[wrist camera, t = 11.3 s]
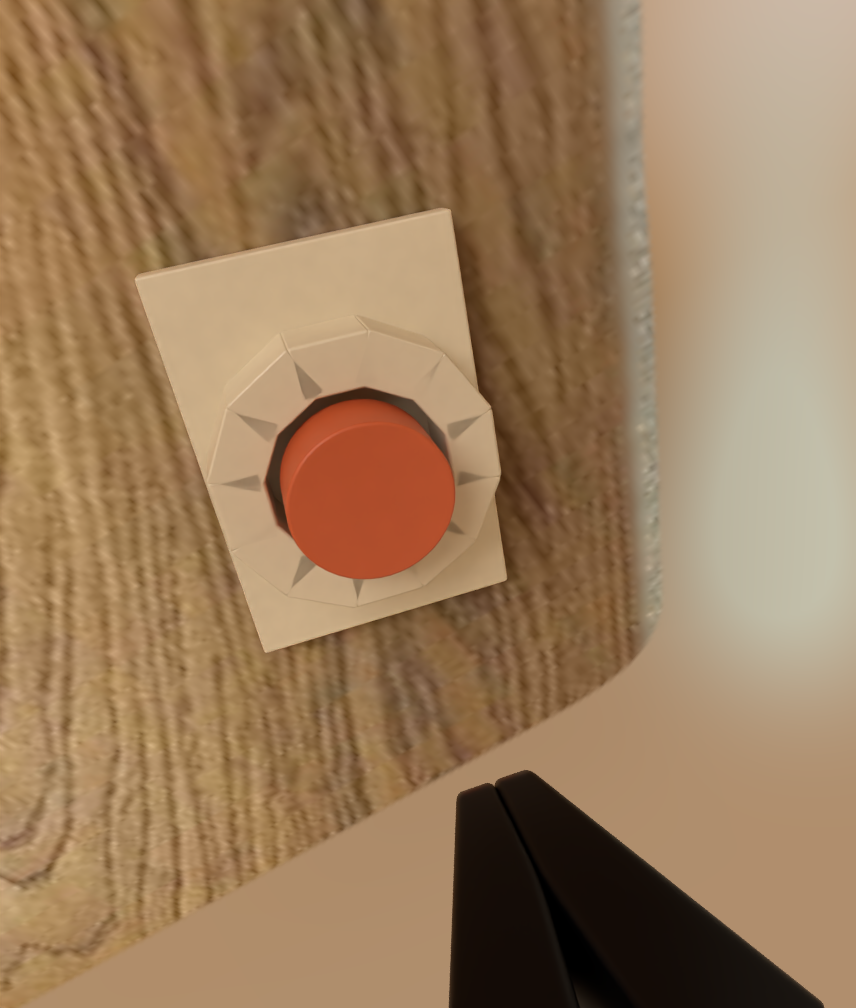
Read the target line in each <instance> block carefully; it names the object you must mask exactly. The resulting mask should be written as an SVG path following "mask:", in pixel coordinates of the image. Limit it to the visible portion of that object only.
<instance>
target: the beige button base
mask: <svg viewBox="0 0 856 1008" xmlns="http://www.w3.org/2000/svg"><path fill="white" fill-rule="evenodd" d="M135 284H136V287H137V289H138V292H139V295H140V298H141V301H142V304H143V307H144V309H145V312H146V315H147V318H148V321H149V324H150V327H151V329H152V332H153V335H154V338H155V341H156V344H157V347H158V349H159V352H160V355H161V358H162V361H163V364H164V367H165V369H166V372H167V375H168V378H169V381H170V384H171V387H172V389H173V392H174V395H175V398H176V401H177V404H178V407H179V409H180V412H181V415H182V418H183V421H184V424H185V427H186V429H187V432H188V435H189V438H190V441H191V444H192V446H193V449H194V452H195V455H196V458H197V461H198V464H199V466H200V469H201V472H202V475H203V478H204V481H205V484H206V486H207V489H208V492H209V495H210V498H211V501H212V504H213V506H214V509H215V512H216V515H217V518H218V521H219V524H220V526H221V529H222V532H223V535H224V538H225V541H226V544H227V546H228V549H229V552H230V555H231V558H232V561H233V564H234V566H235V569H236V572H237V575H238V578H239V581H240V584H241V586H242V589H243V592H244V595H245V598H246V601H247V604H248V606H249V609H250V612H251V615H252V618H253V621H254V624H255V626H256V629H257V632H258V635H259V638H260V641H261V644H262V646H263V649H264V651H265V653H269V652H272V651H275V650H279V649H282V648H285V647H289V646H292V645H295V644H298V643H302V642H305V641H308V640H312V639H315V638H318V637H322V636H325V635H328V634H332V633H335V632H338V631H341V630H345V629H348V628H351V627H355V626H358V625H361V624H365V623H368V622H371V621H374V620H378V619H381V618H384V617H388V616H391V615H394V614H398V613H401V612H404V611H408V610H411V609H414V608H417V607H421V606H424V605H427V604H431V603H434V602H437V601H441V600H444V599H447V598H451V597H454V596H457V595H460V594H464V593H467V592H470V591H474V590H477V589H480V588H484V587H487V586H490V585H494V584H497V583H500V582H503V581H506V580H507V573H506V566H505V560H504V553H503V547H502V540H501V534H500V527H499V521H498V514H497V507H496V501H495V492H496V489H497V486H498V484H499V481H500V476H501V468H500V461H499V454H498V447H497V440H496V433H495V426H494V420H493V413H492V410H491V406H490V404H489V403H488V402H487V401H486V400H485V399H484V397H483V396H482V395H481V394H480V393H479V390H478V383H477V377H476V370H475V364H474V357H473V350H472V344H471V337H470V331H469V324H468V318H467V311H466V305H465V298H464V292H463V285H462V278H461V272H460V265H459V259H458V252H457V246H456V239H455V233H454V226H453V220H452V213H451V210H450V209H445V208H438V209H433V210H428V211H424V212H419V213H415V214H410V215H406V216H401V217H396V218H392V219H387V220H383V221H378V222H374V223H369V224H364V225H360V226H355V227H351V228H346V229H342V230H337V231H332V232H328V233H323V234H319V235H314V236H310V237H305V238H301V239H296V240H291V241H287V242H282V243H278V244H273V245H269V246H264V247H259V248H255V249H250V250H246V251H241V252H237V253H232V254H227V255H223V256H218V257H214V258H209V259H205V260H200V261H195V262H191V263H186V264H182V265H177V266H173V267H168V268H163V269H159V270H154V271H150V272H145V273H141V274H138V275H137V276H136V278H135ZM352 399H374V400H379V401H384V402H387V403H390V404H392V405H395V406H397V407H399V408H401V409H403V410H404V411H406V412H407V413H409V414H410V415H411V416H412V417H413V418H415V419H416V420H417V421H418V422H419V424H420V425H421V426H422V427H423V428H424V430H425V431H426V432H427V434H428V435H429V436H430V437H431V439H432V440H433V441H434V442H435V444H436V445H437V446H438V448H439V449H440V450H441V451H442V453H443V454H444V456H445V458H446V459H447V461H448V463H449V465H450V468H451V470H452V473H453V477H454V481H455V505H454V511H453V514H452V518H451V521H450V523H449V525H448V528H447V530H446V532H445V533H444V535H443V537H442V538H441V540H440V541H439V542H438V544H437V545H436V546H435V548H434V549H433V550H432V551H431V552H430V553H429V554H428V555H427V556H425V557H424V558H423V559H422V560H420V561H419V562H418V563H416V564H414V565H413V566H411V567H410V568H408V569H406V570H404V571H401V572H399V573H396V574H393V575H391V576H387V577H382V578H376V579H352V578H346V577H342V576H338V575H336V574H333V573H330V572H328V571H326V570H324V569H322V568H321V567H319V566H317V565H316V564H315V563H313V562H312V561H311V560H310V559H309V558H307V557H306V556H305V555H304V554H303V552H302V551H301V550H300V549H299V547H298V546H297V544H296V543H295V541H294V539H293V537H292V535H291V532H290V530H289V527H288V523H287V518H286V513H285V508H284V503H283V498H282V493H281V488H280V466H281V461H282V457H283V454H284V452H285V449H286V447H287V445H288V443H289V441H290V439H291V437H292V436H293V435H294V433H295V432H296V430H297V429H298V428H299V427H300V426H301V425H302V424H303V423H304V422H305V421H306V420H307V419H309V418H310V417H311V416H312V415H314V414H315V413H317V412H318V411H320V410H321V409H324V408H326V407H328V406H330V405H332V404H335V403H339V402H342V401H347V400H352Z"/></svg>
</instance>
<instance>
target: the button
mask: <svg viewBox="0 0 856 1008" xmlns="http://www.w3.org/2000/svg"><path fill="white" fill-rule="evenodd" d="M280 488H281V493H282V498H283V503H284V508H285V513H286V518H287V523H288V527H289V530H290V532H291V535H292V537H293V539H294V541H295V543H296V544H297V546H298V547H299V549H300V550H301V551H302V552H303V554H304V555H305V556H306V557H307V558H309V559H310V560H311V561H312V562H313V563H315V564H316V565H317V566H319V567H321V568H322V569H324V570H326V571H328V572H330V573H333V574H336V575H338V576H342V577H346V578H352V579H376V578H382V577H387V576H391V575H393V574H396V573H399V572H401V571H404V570H406V569H408V568H410V567H411V566H413V565H414V564H416V563H418V562H419V561H420V560H422V559H423V558H424V557H425V556H427V555H428V554H429V553H430V552H431V551H432V550H433V549H434V548H435V546H436V545H437V544H438V542H439V541H440V540H441V538H442V537H443V535H444V533H445V532H446V530H447V528H448V525H449V523H450V521H451V518H452V514H453V511H454V505H455V481H454V477H453V473H452V470H451V468H450V465H449V463H448V461H447V459H446V458H445V456H444V454H443V453H442V451H441V450H440V449H439V448H438V446H437V445H436V444H435V442H434V441H433V440H432V439H431V437H430V436H429V435H428V434H427V432H426V431H425V430H424V428H423V427H422V426H421V425H420V424H419V422H418V421H417V420H416V419H415V418H413V417H412V416H411V415H410V414H409V413H407V412H406V411H404V410H403V409H401V408H399V407H397V406H395V405H392V404H390V403H387V402H384V401H379V400H374V399H352V400H347V401H342V402H339V403H335V404H332V405H330V406H328V407H326V408H324V409H321V410H320V411H318V412H317V413H315V414H314V415H312V416H311V417H310V418H309V419H307V420H306V421H305V422H304V423H303V424H302V425H301V426H300V427H299V428H298V429H297V430H296V432H295V433H294V435H293V436H292V437H291V439H290V441H289V443H288V445H287V447H286V449H285V452H284V454H283V457H282V461H281V466H280Z"/></svg>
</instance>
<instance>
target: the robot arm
mask: <svg viewBox="0 0 856 1008" xmlns="http://www.w3.org/2000/svg"><path fill="white" fill-rule="evenodd" d="M449 1008H824V1005H823V1003H822V1002H821V1001H820V1000H819V999H818V998H816V997H815V996H814V995H813V994H811V993H810V992H809V991H808V990H806V989H805V988H804V987H803V986H801V985H800V984H799V983H798V982H796V981H795V980H794V979H793V978H791V977H790V976H789V975H788V974H786V973H785V972H784V971H783V970H781V969H780V968H779V967H778V966H776V965H775V964H774V963H772V962H771V961H770V960H769V959H767V958H766V957H765V956H764V955H762V954H761V953H760V952H759V951H757V950H756V949H755V948H753V947H752V946H751V945H750V944H749V943H747V942H746V941H745V940H744V939H742V938H741V937H740V936H739V935H737V934H736V933H735V932H733V931H732V930H731V929H730V928H728V927H727V926H726V925H725V924H723V923H722V922H721V921H720V920H718V919H717V918H716V917H715V916H713V915H712V914H711V913H710V912H708V911H707V910H706V909H705V908H703V907H702V906H701V905H700V904H698V903H697V902H696V901H694V900H693V899H692V898H691V897H689V896H688V895H687V894H686V893H684V892H683V891H682V890H681V889H679V888H678V887H677V886H676V885H674V884H673V883H672V882H671V881H669V880H668V879H667V878H665V877H664V876H663V875H662V874H661V873H659V872H658V871H657V870H656V869H654V868H653V867H652V866H651V865H649V864H648V863H647V862H646V861H644V860H643V859H642V858H640V857H639V856H638V855H637V854H635V853H634V852H633V851H632V850H630V849H629V848H628V847H627V846H625V845H624V844H623V843H622V842H620V841H619V840H618V839H616V838H615V837H614V836H613V835H612V834H610V833H609V832H608V831H607V830H605V829H604V828H603V827H602V826H600V825H599V824H597V823H596V822H595V821H594V820H593V819H591V818H590V817H589V816H588V815H586V814H585V813H584V812H583V811H581V810H580V809H579V808H578V807H576V806H575V805H574V804H573V803H571V802H570V801H569V800H567V799H566V798H565V797H564V796H563V795H561V794H560V793H559V792H558V791H556V790H555V789H554V788H552V787H551V786H550V785H549V784H547V783H546V782H545V781H544V780H542V779H541V778H540V777H539V776H537V775H536V774H535V773H533V772H531V771H528V770H524V771H520V772H517V773H514V774H512V775H509V776H506V777H503V778H500V779H498V780H497V781H496V783H495V787H494V786H493V785H492V784H490V783H485V784H482V785H480V786H477V787H474V788H471V789H468V790H465V791H463V792H460V793H459V794H458V796H457V802H456V827H455V854H454V881H453V909H452V938H451V963H450V991H449Z"/></svg>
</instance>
